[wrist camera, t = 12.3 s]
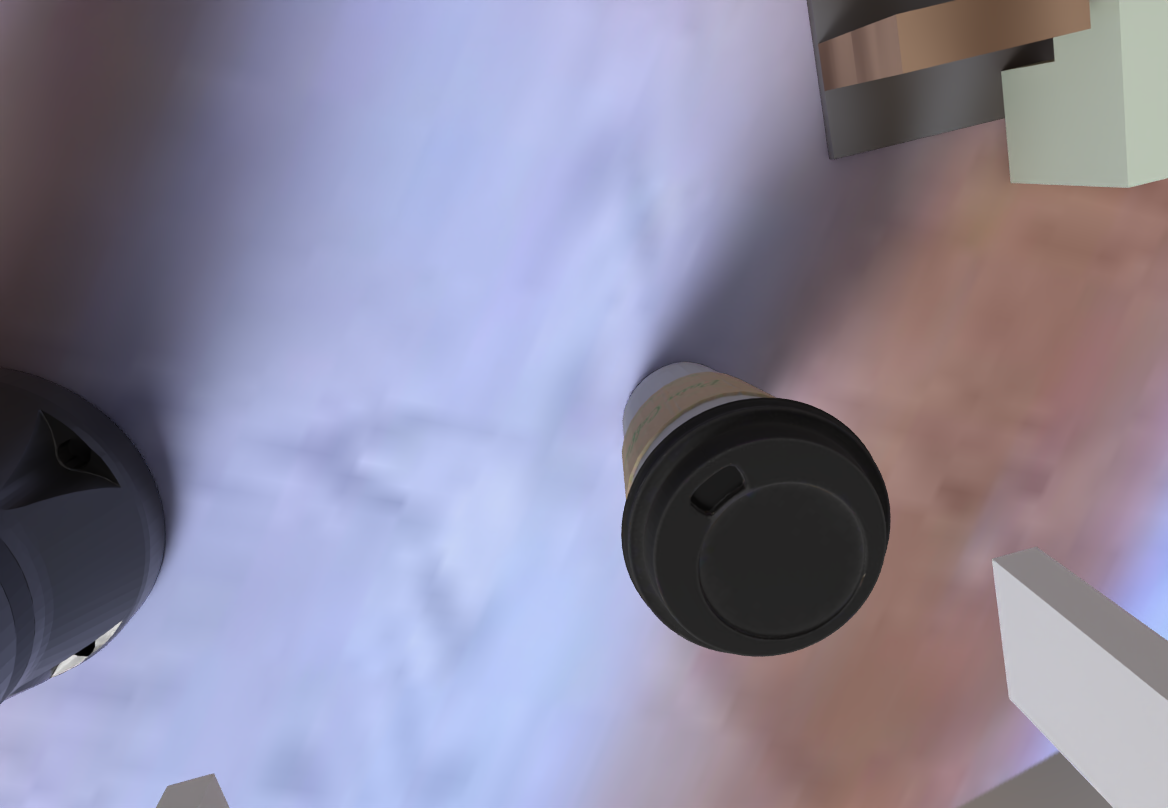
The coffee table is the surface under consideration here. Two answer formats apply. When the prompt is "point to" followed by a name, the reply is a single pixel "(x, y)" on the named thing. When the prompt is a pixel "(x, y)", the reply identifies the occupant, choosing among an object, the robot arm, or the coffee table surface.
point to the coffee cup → (747, 513)
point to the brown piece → (925, 63)
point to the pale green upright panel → (1094, 102)
